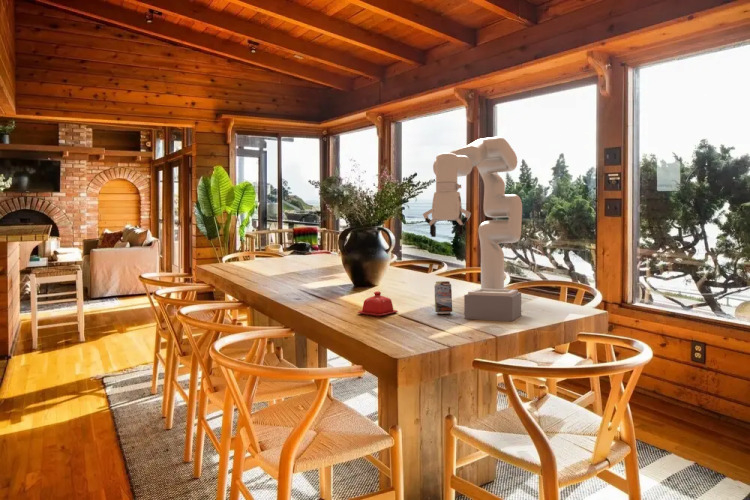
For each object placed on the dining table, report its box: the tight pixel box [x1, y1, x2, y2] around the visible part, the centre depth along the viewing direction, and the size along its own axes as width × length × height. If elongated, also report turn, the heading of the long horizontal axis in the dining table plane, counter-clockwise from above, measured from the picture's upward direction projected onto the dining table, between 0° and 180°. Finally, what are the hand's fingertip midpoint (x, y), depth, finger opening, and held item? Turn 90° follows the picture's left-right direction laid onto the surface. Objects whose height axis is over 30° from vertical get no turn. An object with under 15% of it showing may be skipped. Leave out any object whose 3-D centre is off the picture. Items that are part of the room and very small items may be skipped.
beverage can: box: [434, 280, 453, 315], centre depth 197 cm, size 6×7×12 cm
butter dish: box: [357, 291, 399, 317], centre depth 199 cm, size 12×12×8 cm
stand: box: [463, 288, 522, 322], centre depth 189 cm, size 16×16×9 cm
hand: (446, 236), depth 195 cm, fingers open, 9 cm apart
